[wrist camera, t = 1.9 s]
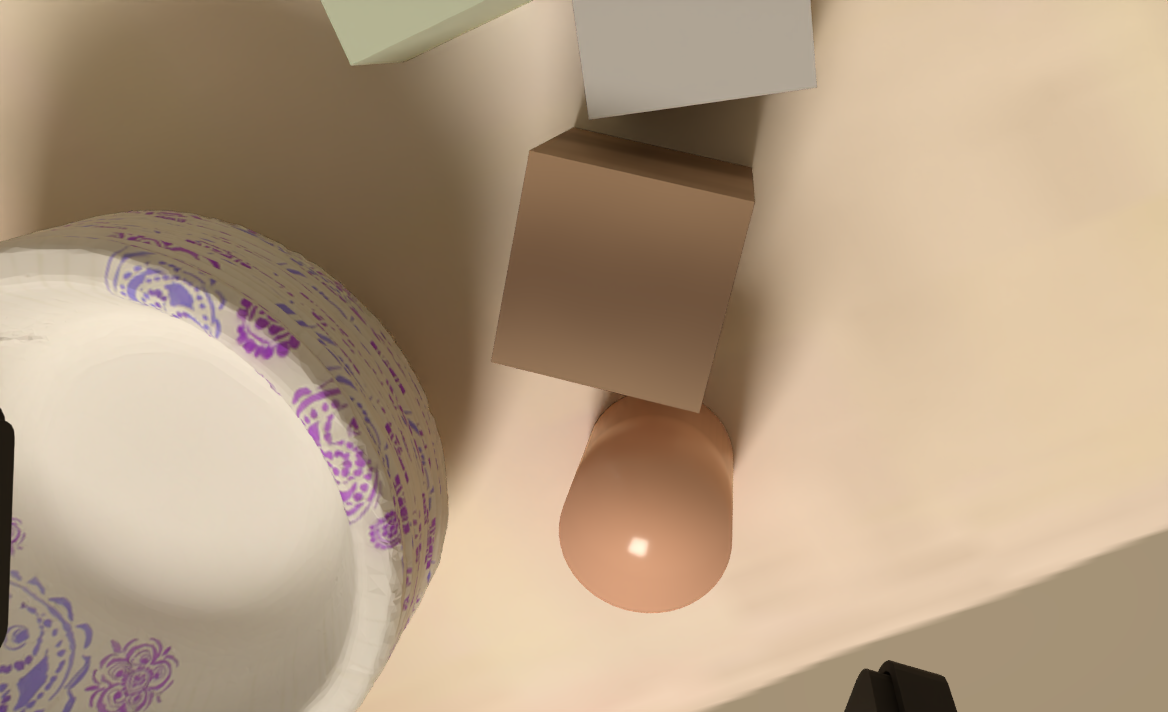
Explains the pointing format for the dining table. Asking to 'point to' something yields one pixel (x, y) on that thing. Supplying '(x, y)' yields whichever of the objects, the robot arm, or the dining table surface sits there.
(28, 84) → the dining table surface
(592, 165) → the walnut block
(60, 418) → the paper bowls
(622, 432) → the cylinder
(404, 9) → the sage cube
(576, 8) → the grey cube
